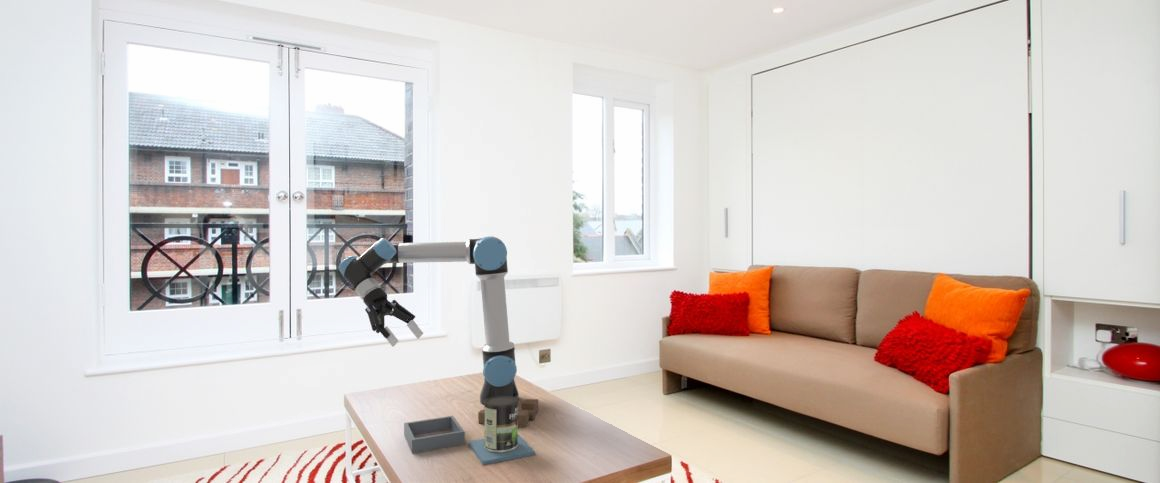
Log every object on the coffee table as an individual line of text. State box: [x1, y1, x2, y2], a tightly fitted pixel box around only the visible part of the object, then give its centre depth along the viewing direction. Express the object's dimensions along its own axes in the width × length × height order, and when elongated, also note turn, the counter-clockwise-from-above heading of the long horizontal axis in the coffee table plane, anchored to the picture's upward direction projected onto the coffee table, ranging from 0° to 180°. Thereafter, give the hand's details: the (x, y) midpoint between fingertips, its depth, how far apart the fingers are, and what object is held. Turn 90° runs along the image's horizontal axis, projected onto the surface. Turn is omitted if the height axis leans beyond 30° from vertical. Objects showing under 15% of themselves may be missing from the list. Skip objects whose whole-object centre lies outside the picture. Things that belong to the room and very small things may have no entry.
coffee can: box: [483, 396, 519, 453], centre depth 166 cm, size 10×10×14 cm
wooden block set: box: [477, 398, 539, 428], centre depth 194 cm, size 17×6×18 cm
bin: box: [403, 415, 466, 454], centre depth 174 cm, size 16×16×4 cm
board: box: [468, 434, 536, 466], centre depth 166 cm, size 16×16×1 cm
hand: (408, 339), depth 185 cm, fingers open, 13 cm apart
